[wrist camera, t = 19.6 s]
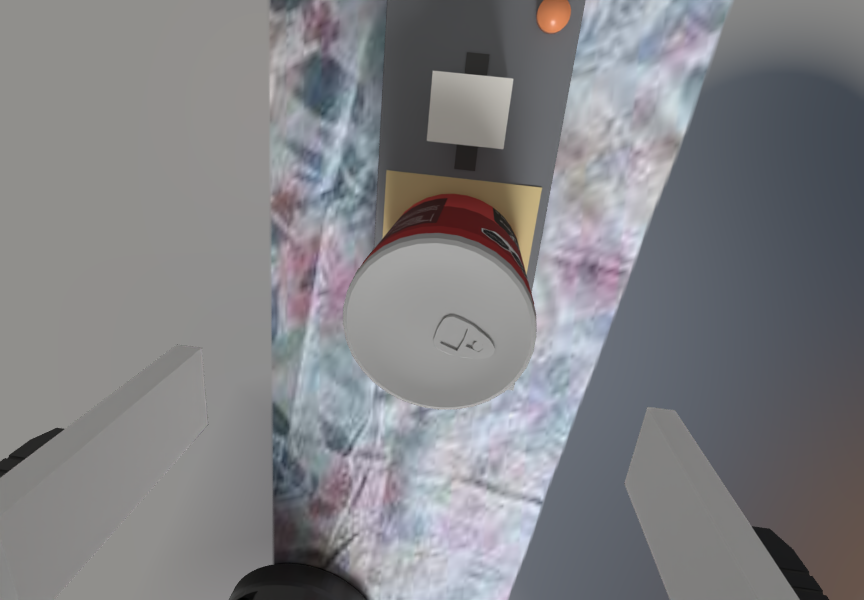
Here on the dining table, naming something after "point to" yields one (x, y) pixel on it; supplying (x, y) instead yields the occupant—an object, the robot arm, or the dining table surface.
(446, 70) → the breaker housing
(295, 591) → the robot arm
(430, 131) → the knob
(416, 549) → the dining table surface
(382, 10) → the dining table surface
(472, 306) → the canned food
